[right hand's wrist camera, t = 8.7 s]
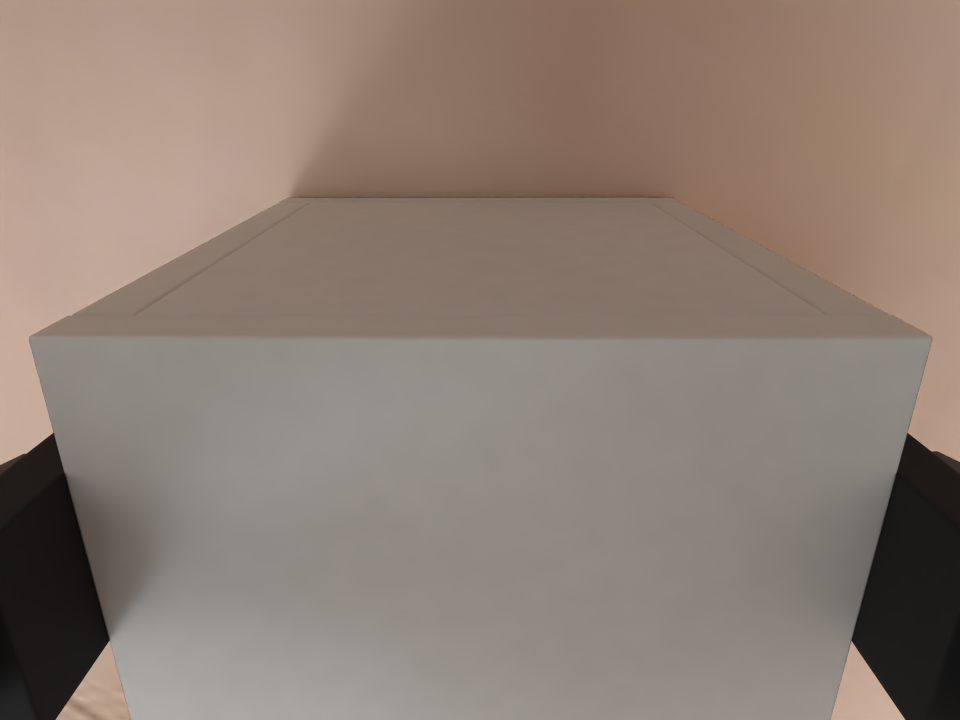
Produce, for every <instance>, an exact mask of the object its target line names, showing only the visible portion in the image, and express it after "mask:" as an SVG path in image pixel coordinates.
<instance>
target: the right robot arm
mask: <svg viewBox="0 0 960 720" xmlns="http://www.w3.org/2000/svg"><path fill="white" fill-rule="evenodd" d="M851 641H852V642H853V644H854V645H855V647H856V648H857V650H858V651H859V652H860V654H861V655H862V657H863V658H864V660H865V661H866V663H867V664H868V666H869V667H870V669H871V670H872V671H873V673H874V674H875V676H876V677H877V679H878V680H879V682H880V683H881V685H882V686H883V688H884V689H885V691H886V692H887V693H888V695H889V696H890V698H891V699H892V701H893V702H894V704H895V705H896V707H897V708H898V710H899V711H900V712H901V714H902V715H903V717H904V718H905V720H960V462H958V461H956V460H954V459H952V458H950V457H948V456H946V455H944V454H942V453H940V452H931V451H930V450H929V449H927V448H926V447H925V446H924V445H922V444H921V443H920V442H918V441H917V440H916V439H915V438H913V437H912V436H911V435H910V434H908V433H907V436H906V440H905V443H904V447H903V451H902V455H901V458H900V462H899V466H898V470H897V473H896V477H895V480H894V484H893V488H892V491H891V495H890V499H889V503H888V506H887V510H886V514H885V517H884V521H883V525H882V529H881V532H880V536H879V540H878V543H877V547H876V551H875V555H874V558H873V562H872V566H871V570H870V573H869V577H868V581H867V584H866V588H865V592H864V596H863V599H862V603H861V607H860V610H859V614H858V618H857V622H856V625H855V629H854V633H853V637H852V640H851ZM108 642H109V636H108V633H107V629H106V625H105V621H104V618H103V614H102V610H101V607H100V603H99V599H98V595H97V592H96V588H95V584H94V580H93V577H92V573H91V569H90V566H89V562H88V558H87V554H86V551H85V547H84V543H83V540H82V536H81V532H80V528H79V525H78V521H77V517H76V513H75V510H74V506H73V502H72V499H71V495H70V491H69V487H68V484H67V480H66V476H65V473H64V469H63V465H62V461H61V458H60V454H59V450H58V446H57V443H56V439H55V435H54V433H53V434H51V435H50V436H49V437H47V438H46V439H45V440H44V441H42V442H41V443H40V444H39V445H37V446H36V447H35V448H33V449H32V450H31V451H30V452H28V453H27V454H23V455H20V456H18V457H16V458H14V459H12V460H10V461H8V462H6V463H4V464H2V465H0V720H55V719H56V718H57V717H58V715H59V714H60V712H61V711H62V709H63V708H64V706H65V705H66V703H67V702H68V700H69V699H70V698H71V696H72V695H73V693H74V692H75V690H76V689H77V687H78V686H79V684H80V683H81V681H82V680H83V678H84V677H85V676H86V674H87V673H88V671H89V670H90V668H91V667H92V665H93V664H94V662H95V661H96V659H97V658H98V656H99V655H100V654H101V652H102V651H103V649H104V648H105V646H106V645H107V643H108Z"/></svg>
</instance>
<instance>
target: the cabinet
mask: <svg viewBox="0 0 960 720" xmlns="http://www.w3.org/2000/svg"><path fill="white" fill-rule="evenodd" d="M29 342H30V346H31V350H32V353H33V357H34V361H35V365H36V368H37V372H38V376H39V379H40V383H41V387H42V391H43V394H44V398H45V402H46V406H47V409H48V413H49V417H50V420H51V424H52V428H53V432H54V435H55V439H56V443H57V446H58V450H59V454H60V458H61V461H62V465H63V469H64V473H65V476H66V480H67V484H68V487H69V491H70V495H71V499H72V502H73V506H74V510H75V513H76V517H77V521H78V525H79V528H80V532H81V536H82V540H83V543H84V547H85V551H86V554H87V558H88V562H89V566H90V569H91V573H92V577H93V580H94V584H95V588H96V592H97V595H98V599H99V603H100V607H101V610H102V614H103V618H104V621H105V625H106V629H107V633H108V636H109V640H110V644H111V647H112V651H113V655H114V659H115V662H116V666H117V670H118V674H119V677H120V681H121V685H122V688H123V692H124V696H125V700H126V703H127V707H128V711H129V715H130V718H131V720H830V719H831V715H832V712H833V708H834V704H835V700H836V697H837V693H838V689H839V686H840V682H841V678H842V674H843V671H844V667H845V663H846V659H847V656H848V652H849V648H850V645H851V640H852V637H853V633H854V629H855V625H856V622H857V618H858V614H859V610H860V607H861V603H862V599H863V596H864V592H865V588H866V584H867V581H868V577H869V573H870V570H871V566H872V562H873V558H874V555H875V551H876V547H877V543H878V540H879V536H880V532H881V529H882V525H883V521H884V517H885V514H886V510H887V506H888V503H889V499H890V495H891V491H892V488H893V484H894V480H895V477H896V473H897V470H898V466H899V462H900V458H901V455H902V451H903V447H904V443H905V440H906V436H907V432H908V429H909V425H910V421H911V417H912V414H913V410H914V406H915V402H916V399H917V395H918V391H919V388H920V384H921V380H922V376H923V373H924V369H925V365H926V362H927V358H928V354H929V350H930V347H931V343H932V336H931V335H929V334H927V333H925V332H923V331H921V330H919V329H918V328H916V327H914V326H912V325H910V324H908V323H906V322H905V321H903V320H901V319H899V318H897V317H895V316H893V315H888V314H887V313H886V312H884V311H882V310H880V309H878V308H876V307H874V306H873V305H871V304H869V303H867V302H865V301H863V300H861V299H860V298H858V297H856V296H854V295H852V294H850V293H848V292H847V291H845V290H843V289H841V288H839V287H837V286H835V285H834V284H832V283H830V282H828V281H826V280H824V279H822V278H820V277H819V276H817V275H815V274H813V273H811V272H809V271H807V270H806V269H804V268H802V267H800V266H798V265H796V264H794V263H793V262H791V261H789V260H787V259H785V258H783V257H781V256H780V255H778V254H776V253H774V252H772V251H770V250H768V249H767V248H765V247H763V246H761V245H759V244H757V243H755V242H754V241H752V240H750V239H748V238H746V237H744V236H742V235H741V234H739V233H737V232H735V231H733V230H731V229H729V228H728V227H726V226H724V225H722V224H720V223H718V222H716V221H715V220H713V219H711V218H709V217H707V216H705V215H703V214H702V213H700V212H698V211H696V210H694V209H692V208H690V207H689V206H687V205H685V204H683V203H681V202H680V201H678V200H676V199H674V198H286V199H285V200H283V201H281V202H279V203H278V204H276V205H274V206H272V207H270V208H268V209H266V210H265V211H263V212H261V213H259V214H257V215H255V216H254V217H252V218H250V219H248V220H246V221H244V222H242V223H241V224H239V225H237V226H235V227H233V228H231V229H230V230H228V231H226V232H224V233H222V234H220V235H218V236H217V237H215V238H213V239H211V240H209V241H207V242H206V243H204V244H202V245H200V246H198V247H196V248H194V249H193V250H191V251H189V252H187V253H185V254H183V255H181V256H180V257H178V258H176V259H174V260H172V261H170V262H169V263H167V264H165V265H163V266H161V267H159V268H157V269H156V270H154V271H152V272H150V273H148V274H146V275H145V276H143V277H141V278H139V279H137V280H135V281H133V282H132V283H130V284H128V285H126V286H124V287H122V288H121V289H119V290H117V291H115V292H113V293H111V294H109V295H108V296H106V297H104V298H102V299H100V300H98V301H97V302H95V303H93V304H91V305H89V306H87V307H85V308H84V309H82V310H80V311H78V312H76V313H74V314H73V315H72V316H67V317H65V318H63V319H61V320H59V321H57V322H56V323H54V324H52V325H50V326H48V327H46V328H44V329H43V330H41V331H39V332H37V333H35V334H33V335H31V336H30V337H29Z"/></svg>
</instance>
